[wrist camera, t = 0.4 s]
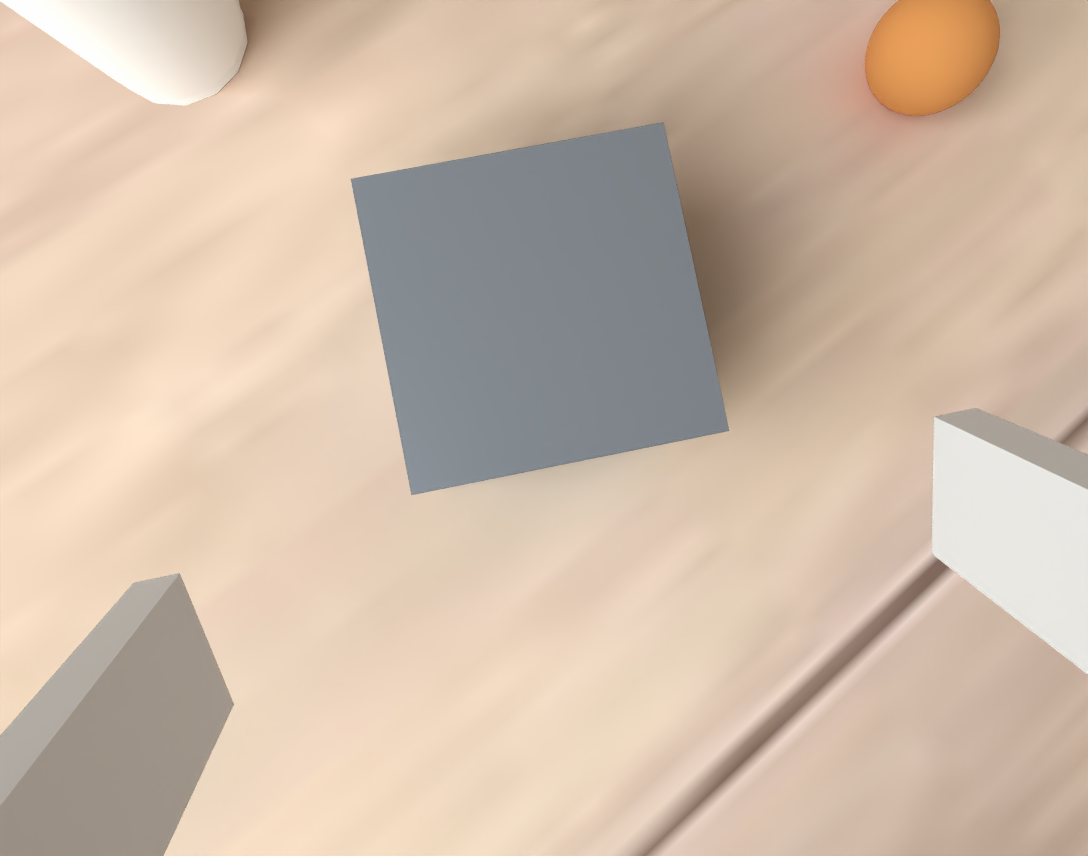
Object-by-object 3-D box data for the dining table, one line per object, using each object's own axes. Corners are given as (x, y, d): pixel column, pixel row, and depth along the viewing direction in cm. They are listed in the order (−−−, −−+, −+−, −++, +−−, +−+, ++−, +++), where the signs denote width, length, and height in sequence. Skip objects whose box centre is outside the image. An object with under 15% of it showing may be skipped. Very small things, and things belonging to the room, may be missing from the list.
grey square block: (668, 440, 30) (729, 430, 22) (443, 486, 30) (411, 495, 21) (622, 219, 31) (663, 122, 22) (399, 261, 30) (350, 178, 22)
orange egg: (960, 126, 32) (1043, 63, 27) (857, 145, 31) (921, 85, 26) (936, 23, 32) (1013, -58, 27) (834, 41, 32) (892, -38, 27)
